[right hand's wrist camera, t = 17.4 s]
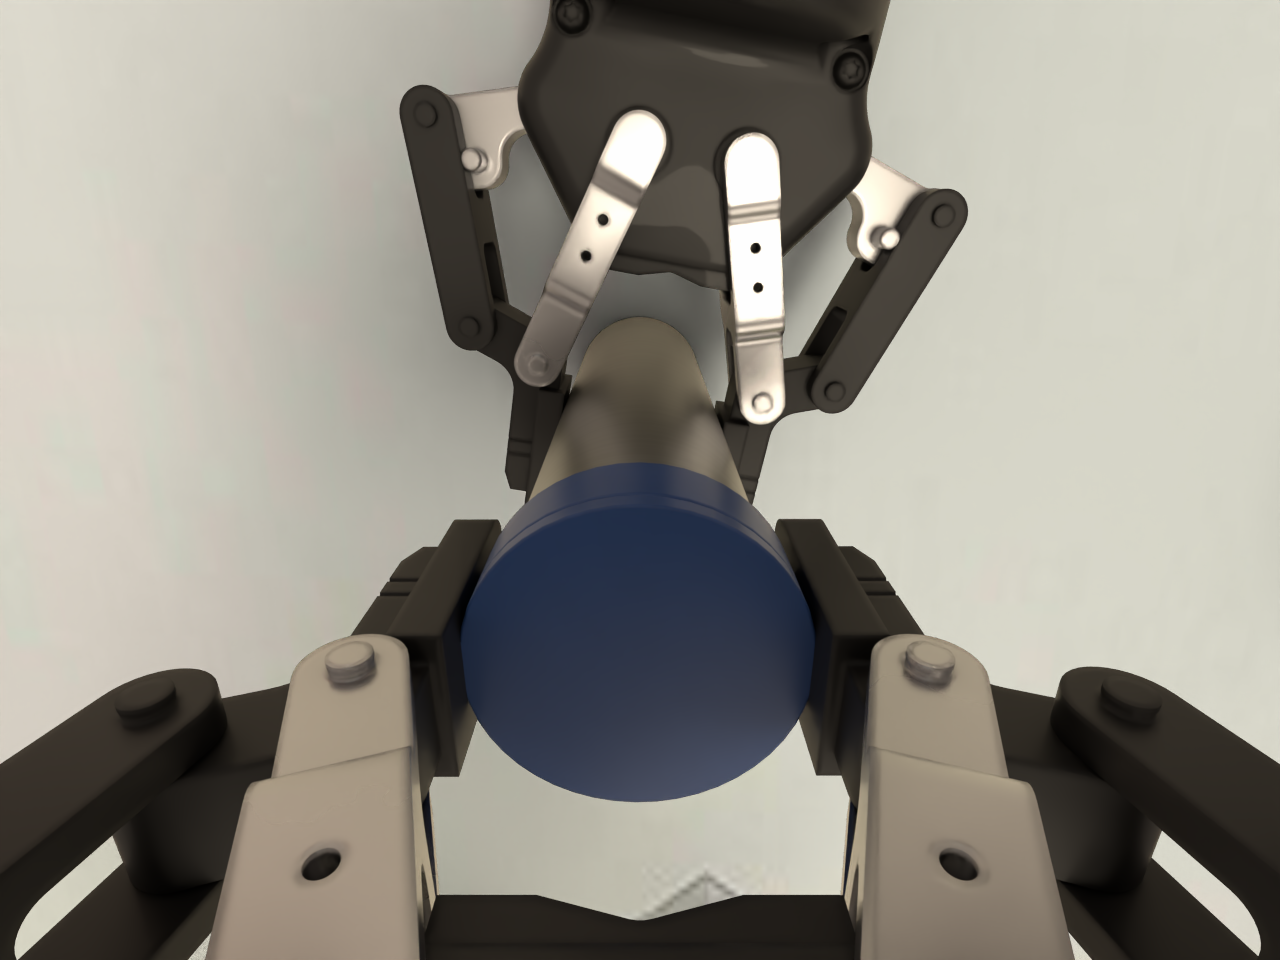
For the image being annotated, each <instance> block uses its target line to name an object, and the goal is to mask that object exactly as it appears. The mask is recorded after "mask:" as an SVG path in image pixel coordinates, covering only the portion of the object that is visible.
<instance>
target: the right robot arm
mask: <svg viewBox="0 0 1280 960" xmlns="http://www.w3.org/2000/svg"><path fill="white" fill-rule="evenodd" d="M501 532H502V530H501V525H500V522H499V521H498V520H454V521H453V523H452V524H451V526H450V528H449V529H448V531H447V533H446V534H445V536H444V538H443V539H442V541H441V543H440V544H439V546H438V547H422V548H421V549H419V550H418V551H416V552H415V553H413V554H412V555H410V556H409V557H407V558H406V559H404V560H403V561H401V563H400V564H399V566H398V567H397V568H396V570H395V571H394V573H393V574H392V576H391V577H390V582H387V583H386V585H385V586H384V588H383V589H382V590H381V592H380V596H377V598H376V599H375V601H374V602H373V604H372V605H371V607H370V608H369V610H368V611H367V612H366V614H365V615H364V617H363V618H362V620H361V621H360V623H359V624H358V626H357V627H356V629H355V630H354V632H353V633H352V634H351V636H350V637H345V638H342V639H338V640H335V641H333V642H330V643H328V644H325V645H323V646H321V647H320V648H318V649H316V650H314V651H313V652H311V653H310V654H308V655H307V656H306V657H305V658H304V659H302V660H301V662H300V663H299V664H298V665H297V666H296V668H295V669H294V671H293V674H292V677H291V681H290V683H289V684H286V685H283V686H280V687H275V688H271V689H267V690H262V691H257V692H252V693H247V694H242V695H237V696H232V697H227V698H221V694H220V691H219V687H218V684H217V681H216V679H215V678H214V677H213V676H212V675H211V674H209V673H208V672H206V671H202V670H198V669H172V670H166V671H161V672H157V673H153V674H149V675H146V676H143V677H140V678H137V679H134V680H132V681H130V682H127V683H125V684H123V685H121V686H119V687H117V688H115V689H113V690H111V691H110V692H108V693H106V694H105V695H103V696H102V697H100V698H99V699H97V700H96V701H94V702H93V703H91V704H90V705H88V706H87V707H85V708H84V709H82V710H81V711H79V712H78V713H76V714H75V715H73V716H72V717H70V718H69V719H67V720H66V721H64V722H63V723H61V724H60V725H58V726H57V727H55V728H54V729H52V730H51V731H49V732H48V733H46V734H45V735H43V736H42V737H40V738H39V739H37V740H36V741H34V742H33V743H31V744H30V745H28V746H27V747H25V748H24V749H22V750H21V751H19V752H18V753H16V754H15V755H13V756H12V757H10V758H9V759H7V760H6V761H4V762H3V763H1V764H0V960H16V957H15V951H14V946H15V940H16V937H17V933H18V931H19V929H20V926H21V924H22V922H23V921H24V919H25V917H26V916H27V914H28V913H29V911H30V910H31V909H32V907H33V906H34V905H35V904H36V903H37V902H38V900H39V899H40V898H42V897H43V896H44V895H45V894H46V893H47V892H48V891H49V890H50V889H51V888H53V887H54V886H55V885H56V884H57V883H58V882H59V881H61V880H62V879H63V878H64V877H65V876H66V875H67V874H69V873H70V872H71V871H72V870H73V869H74V868H75V867H77V866H78V865H79V864H80V863H81V862H82V861H84V860H85V859H86V858H87V857H88V856H89V855H90V854H92V853H93V852H94V851H95V850H96V849H97V848H98V847H100V846H101V845H102V844H103V843H104V842H105V841H106V840H108V839H109V838H110V837H111V836H113V838H114V841H115V843H116V846H117V848H118V851H119V853H120V856H121V858H122V861H123V863H122V864H121V865H120V866H119V867H118V868H117V869H116V870H115V871H113V872H112V873H111V874H110V875H109V876H108V877H107V878H106V879H105V880H104V881H103V882H102V883H101V884H99V885H98V886H97V887H96V888H95V889H94V890H93V891H92V892H91V893H90V894H89V895H88V896H86V897H85V898H84V899H83V900H82V901H81V902H80V903H79V904H78V905H77V906H76V907H75V908H73V909H72V910H71V911H70V912H69V913H68V914H67V915H66V916H65V917H64V918H63V919H62V920H61V921H59V922H58V923H57V924H56V925H55V926H54V927H53V928H52V929H51V930H50V931H49V932H48V933H46V934H45V935H44V936H43V937H42V938H41V939H40V940H39V941H38V942H37V943H36V944H35V945H34V946H32V947H31V948H30V949H29V950H28V951H27V952H26V953H25V954H24V955H23V956H22V957H21V958H19V959H18V960H188V959H189V958H190V956H191V955H192V954H193V953H194V952H195V951H196V949H197V948H198V947H199V946H200V945H201V944H202V942H203V941H204V940H205V939H206V938H207V937H208V935H209V934H210V933H211V932H212V933H211V937H210V941H209V945H208V950H207V954H206V958H205V960H1075V958H1074V954H1073V950H1072V946H1071V941H1070V937H1069V933H1070V934H1071V935H1072V937H1073V938H1074V939H1075V940H1076V941H1077V942H1078V944H1079V945H1080V946H1081V947H1082V948H1083V949H1084V951H1085V952H1086V953H1087V954H1088V955H1089V956H1090V958H1091V959H1092V960H1280V764H1279V763H1277V762H1276V761H1274V760H1273V759H1271V758H1270V757H1268V756H1267V755H1265V754H1264V753H1262V752H1261V751H1259V750H1258V749H1256V748H1255V747H1253V746H1252V745H1250V744H1249V743H1247V742H1246V741H1244V740H1243V739H1241V738H1240V737H1238V736H1237V735H1235V734H1234V733H1232V732H1231V731H1229V730H1228V729H1226V728H1225V727H1223V726H1222V725H1220V724H1219V723H1217V722H1216V721H1214V720H1213V719H1211V718H1210V717H1208V716H1207V715H1205V714H1204V713H1202V712H1201V711H1199V710H1198V709H1196V708H1195V707H1193V706H1192V705H1190V704H1189V703H1187V702H1186V701H1184V700H1183V699H1181V698H1180V697H1178V696H1177V695H1175V694H1174V693H1172V692H1171V691H1169V690H1167V689H1166V688H1164V687H1162V686H1160V685H1158V684H1156V683H1154V682H1152V681H1150V680H1147V679H1145V678H1143V677H1140V676H1137V675H1134V674H1131V673H1128V672H1124V671H1120V670H1116V669H1110V668H1104V667H1081V668H1076V669H1072V670H1070V671H1068V672H1066V673H1065V674H1064V675H1063V676H1062V678H1061V680H1060V683H1059V687H1058V690H1057V694H1056V698H1053V697H1048V696H1043V695H1038V694H1033V693H1028V692H1023V691H1018V690H1013V689H1008V688H1003V687H999V686H995V685H992V684H990V681H989V677H988V674H987V671H986V669H985V668H984V666H983V665H982V664H981V663H980V662H979V660H978V659H976V658H975V657H974V656H973V655H972V654H970V653H969V652H967V651H966V650H964V649H962V648H960V647H959V646H957V645H955V644H952V643H950V642H947V641H945V640H942V639H938V638H935V637H930V636H926V635H924V633H923V632H922V631H921V629H920V628H919V626H918V625H917V623H916V622H915V620H914V619H913V617H912V616H911V614H910V613H909V611H908V610H907V608H906V607H905V605H904V604H903V602H902V601H901V599H900V598H899V596H896V594H895V590H894V589H893V587H892V586H891V584H890V583H889V581H886V577H885V575H884V574H883V572H882V571H881V569H880V568H879V566H878V565H877V564H876V562H875V561H874V560H873V559H871V558H870V557H868V556H867V555H865V554H864V553H862V552H861V551H859V550H858V549H856V548H855V547H853V546H838V545H837V544H836V542H835V540H834V539H833V537H832V535H831V534H830V532H829V530H828V529H827V527H826V525H825V523H824V522H823V520H821V519H779V520H778V521H777V523H776V527H775V533H776V535H777V537H778V538H779V540H780V542H781V544H782V546H783V548H784V551H785V553H786V555H787V557H788V560H789V562H790V565H791V567H792V569H793V572H794V574H795V576H796V579H797V581H798V583H799V586H800V588H801V591H802V593H803V595H804V598H805V600H806V602H807V605H808V607H809V610H810V613H811V616H812V620H813V624H814V628H815V649H814V658H813V667H812V676H811V684H810V692H809V698H808V701H807V703H806V706H805V708H804V710H803V712H802V714H801V715H800V717H799V721H800V725H801V728H802V731H803V734H804V737H805V741H806V744H807V747H808V750H809V753H810V757H811V760H812V763H813V766H814V769H815V773H816V775H842V778H843V781H844V784H845V786H846V789H847V792H848V795H849V797H850V798H849V805H848V811H847V822H846V834H845V846H844V859H843V871H842V883H841V895H742V896H738V897H734V898H730V899H726V900H723V901H719V902H715V903H711V904H707V905H704V906H700V907H696V908H692V909H688V910H684V911H681V912H677V913H673V914H669V915H665V916H662V917H658V918H654V919H649V920H631V919H626V918H622V917H618V916H615V915H611V914H607V913H603V912H599V911H596V910H592V909H588V908H584V907H580V906H576V905H573V904H569V903H565V902H561V901H557V900H554V899H550V898H546V897H542V896H538V895H439V883H438V871H437V859H436V847H435V834H434V822H433V812H432V805H431V798H430V792H429V787H430V785H431V782H432V779H433V777H459V775H460V772H461V769H462V766H463V762H464V759H465V756H466V753H467V750H468V747H469V744H470V741H471V737H472V734H473V731H474V728H475V725H476V722H477V717H476V715H475V713H474V712H473V710H472V708H471V706H470V704H469V701H468V698H467V692H466V684H465V676H464V667H463V659H462V650H461V640H460V632H461V625H462V622H463V618H464V615H465V612H466V609H467V606H468V603H469V601H470V599H471V596H472V594H473V592H474V590H475V587H476V585H477V583H478V580H479V578H480V576H481V574H482V571H483V569H484V567H485V564H486V562H487V560H488V558H489V555H490V553H491V551H492V549H493V547H494V545H495V543H496V541H497V539H498V537H499V535H500V534H501ZM1161 831H1163V832H1164V833H1166V834H1167V835H1168V836H1169V837H1170V838H1171V839H1172V840H1174V841H1175V842H1176V843H1177V844H1178V845H1179V846H1180V847H1182V848H1183V849H1184V850H1185V851H1186V852H1187V853H1188V854H1190V855H1191V856H1192V857H1193V858H1194V859H1195V860H1196V861H1198V862H1199V863H1200V864H1201V865H1202V866H1203V867H1204V868H1206V869H1207V870H1208V871H1209V872H1210V873H1211V874H1212V875H1214V876H1215V877H1216V878H1217V879H1218V880H1219V881H1221V882H1222V883H1223V884H1224V885H1225V886H1226V887H1227V888H1229V889H1230V890H1231V891H1232V892H1233V893H1234V894H1235V895H1236V896H1237V897H1238V898H1239V899H1240V901H1241V902H1242V903H1243V904H1244V905H1245V907H1246V908H1247V910H1248V911H1249V912H1250V914H1251V916H1252V918H1253V919H1254V921H1255V924H1256V926H1257V928H1258V931H1259V935H1260V940H1261V950H1260V953H1259V956H1257V955H1256V954H1255V953H1254V952H1253V951H1252V950H1251V949H1250V948H1249V947H1248V946H1246V945H1245V944H1244V943H1243V942H1242V941H1241V940H1240V939H1239V938H1238V937H1237V936H1236V935H1235V934H1234V933H1232V932H1231V931H1230V930H1229V929H1228V928H1227V927H1226V926H1225V925H1224V924H1223V923H1222V922H1221V921H1219V920H1218V919H1217V918H1216V917H1215V916H1214V915H1213V914H1212V913H1211V912H1210V911H1209V910H1208V909H1206V908H1205V907H1204V906H1203V905H1202V904H1201V903H1200V902H1199V901H1198V900H1197V899H1196V898H1195V897H1194V896H1192V895H1191V894H1190V893H1189V892H1188V891H1187V890H1186V889H1185V888H1184V887H1183V886H1182V885H1181V884H1179V883H1178V882H1177V881H1176V880H1175V879H1174V878H1173V877H1172V876H1171V875H1170V874H1169V873H1168V872H1166V871H1165V870H1164V869H1163V868H1162V867H1161V866H1160V865H1159V864H1158V863H1157V862H1156V861H1155V860H1154V859H1152V858H1151V857H1152V855H1153V852H1154V849H1155V847H1156V844H1157V842H1158V839H1159V836H1160V834H1161ZM1068 932H1069V933H1068Z"/></svg>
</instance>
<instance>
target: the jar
mask: <svg viewBox="0 0 1280 960" xmlns="http://www.w3.org/2000/svg"><path fill="white" fill-rule="evenodd" d="M636 462H643V463H657V464H665V465H670V466H675V467H680V468H685V469H688V470H691V471H694V472H697V473H700V474H703V475H705V476H708V477H710V478H712V479H714V480H716V481H718V482H720V483H722V484H724V485H726V486H727V487H729V488H730V489H732V490H733V491H735V492H736V493H738V494H739V495H741V496H742V497H743V498H744V499H745V500H747V501H748V499H747V496H746V493H745V490H744V488H743V485H742V482H741V480H740V477H739V474H738V472H737V469H736V466H735V463H734V461H733V458H732V455H731V453H730V450H729V447H728V445H727V442H726V439H725V436H724V434H723V431H722V428H721V426H720V423H719V420H718V418H717V415H716V412H715V409H714V407H713V404H712V401H711V399H710V396H709V393H708V391H707V388H706V385H705V382H704V380H703V377H702V374H701V372H700V369H699V366H698V364H697V361H696V358H695V355H694V353H693V351H692V349H691V347H690V345H689V343H688V342H687V341H686V339H685V338H684V337H683V336H682V335H681V334H680V333H679V332H678V331H677V330H676V329H675V328H673V327H671V326H670V325H668V324H666V323H664V322H662V321H659V320H656V319H653V318H647V317H633V318H627V319H623V320H620V321H617V322H615V323H613V324H611V325H609V326H608V327H606V328H605V329H603V330H602V331H601V332H600V333H599V334H598V335H597V336H596V337H595V338H594V340H593V341H592V342H591V344H590V345H589V347H588V349H587V351H586V354H585V356H584V359H583V361H582V364H581V366H580V369H579V372H578V374H577V377H576V379H575V382H574V385H573V387H572V390H571V392H570V395H569V398H568V400H567V403H566V405H565V408H564V411H563V413H562V416H561V418H560V421H559V424H558V426H557V429H556V431H555V434H554V437H553V439H552V442H551V444H550V447H549V450H548V452H547V455H546V457H545V460H544V463H543V465H542V468H541V470H540V473H539V475H538V478H537V481H536V483H535V486H534V488H533V491H532V494H531V496H530V499H529V501H530V500H531V499H532V498H533V497H534V496H536V495H537V494H538V493H540V492H541V491H543V490H544V489H546V488H548V487H549V486H551V485H552V484H554V483H556V482H558V481H560V480H562V479H564V478H567V477H569V476H571V475H573V474H576V473H579V472H582V471H585V470H589V469H592V468H595V467H600V466H606V465H612V464H617V463H636ZM748 502H749V501H748Z"/></svg>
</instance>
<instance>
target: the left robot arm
mask: <svg viewBox="0 0 1280 960" xmlns="http://www.w3.org/2000/svg"><path fill="white" fill-rule="evenodd" d="M889 4H890V0H550V9H549V15H548V21H547V25H546V29H545V32H544V34H543V37H542V40H541V42H540V44H539V46H538V48H537V50H536V52H535V54H534V55H533V57H532V58H531V60H530V61H529V63H528V64H527V65H526V67H525V69H524V71H523V73H522V76H521V78H520V82H519V86H516V87H509V88H501V89H494V90H486V91H479V92H471V93H464V94H456V95H447V94H445V93H443V92H441V91H440V90H438V89H436V88H434V87H432V86H429V85H418V86H415V87H413V88H411V89H409V90H408V91H407V92H406V93H405V95H404V96H403V98H402V101H401V104H400V119H401V124H402V128H403V133H404V138H405V142H406V147H407V151H408V156H409V160H410V165H411V170H412V174H413V179H414V183H415V188H416V192H417V197H418V201H419V206H420V211H421V215H422V220H423V224H424V229H425V233H426V238H427V243H428V247H429V252H430V256H431V261H432V265H433V270H434V274H435V279H436V284H437V288H438V293H439V297H440V302H441V306H442V311H443V316H444V320H445V325H446V329H447V333H448V335H449V337H450V339H451V340H452V341H453V342H454V343H455V344H456V345H457V346H459V347H460V348H462V349H465V350H477V351H479V352H481V353H483V354H484V355H486V356H488V357H490V358H492V359H494V360H495V361H497V362H499V363H500V364H502V365H503V366H504V367H505V368H506V369H507V371H508V372H509V374H510V376H511V378H512V381H513V386H514V393H513V402H512V411H511V420H510V429H509V440H508V448H507V457H506V466H505V473H506V476H507V480H508V483H509V486H510V489H516V490H522V491H526V497H525V504H526V503H527V502H528V501H529V499H530V496H531V494H532V491H533V488H534V486H535V483H536V481H537V478H538V475H539V473H540V470H541V468H542V465H543V463H544V460H545V457H546V455H547V452H548V450H549V447H550V444H551V442H552V439H553V437H554V434H555V431H556V429H557V426H558V424H559V421H560V418H561V416H562V413H563V411H564V408H565V405H566V403H567V400H568V398H569V395H570V387H571V380H572V375H567V374H565V371H566V364H567V357H568V355H569V353H570V351H571V349H572V346H573V344H574V342H575V340H576V338H577V336H578V334H579V332H580V330H581V328H582V325H583V323H584V321H585V319H586V317H587V315H588V313H589V311H590V309H591V307H592V304H593V302H594V300H595V298H596V296H597V294H598V292H599V290H600V288H601V286H602V284H603V281H604V279H605V277H606V275H607V273H608V271H609V270H614V271H619V272H625V273H630V274H636V275H643V274H654V273H664V272H672V273H675V274H677V275H679V276H681V277H683V278H685V279H687V280H689V281H691V282H693V283H695V284H697V285H699V286H702V287H708V288H713V289H719V296H720V308H721V316H722V321H723V326H724V335H725V347H726V359H727V371H728V383H729V384H728V389H727V393H726V398H725V402H721V401H716V404H715V412H716V415H717V418H718V420H719V423H720V426H721V428H722V431H723V434H724V436H725V439H726V442H727V445H728V447H729V450H730V453H731V455H732V458H733V461H734V463H735V466H736V469H737V472H738V474H739V477H740V480H741V482H742V485H743V488H744V490H745V493H746V496H747V499H748V501H749V503H750V504H751V505H752V504H753V500H754V496H755V491H756V488H757V484H758V479H759V477H760V473H761V469H762V465H763V461H764V457H765V453H766V449H767V445H768V442H769V438H770V434H771V431H772V430H773V428H774V426H775V425H776V424H777V423H778V422H779V421H780V420H781V419H782V418H784V417H786V416H787V415H790V414H793V413H798V412H804V411H810V410H816V409H819V410H821V411H823V412H825V413H839V412H842V411H844V410H845V409H847V408H848V407H849V406H850V405H851V404H852V403H853V402H854V400H855V398H856V397H857V395H858V394H859V392H860V391H861V389H862V387H863V386H864V384H865V383H866V381H867V379H868V378H869V376H870V375H871V373H872V372H873V370H874V368H875V367H876V365H877V364H878V362H879V360H880V359H881V357H882V356H883V354H884V353H885V351H886V349H887V348H888V346H889V345H890V343H891V341H892V340H893V338H894V337H895V335H896V333H897V332H898V330H899V329H900V327H901V326H902V324H903V322H904V321H905V319H906V318H907V316H908V314H909V313H910V311H911V310H912V308H913V307H914V305H915V303H916V302H917V300H918V299H919V297H920V295H921V294H922V292H923V291H924V289H925V288H926V286H927V284H928V283H929V281H930V280H931V278H932V276H933V275H934V273H935V272H936V270H937V268H938V267H939V265H940V264H941V262H942V261H943V259H944V257H945V256H946V254H947V253H948V251H949V249H950V248H951V246H952V245H953V243H954V242H955V240H956V238H957V237H958V235H959V234H960V232H961V230H962V229H963V227H964V225H965V223H966V220H967V216H968V207H967V203H966V201H965V199H964V197H963V196H962V195H961V194H960V193H959V192H957V191H955V190H952V189H936V188H932V189H928V188H925V187H923V186H921V185H920V184H918V183H916V182H915V181H913V180H911V179H910V178H908V177H906V176H904V175H903V174H901V173H899V172H898V171H896V170H894V169H892V168H891V167H889V166H887V165H886V164H884V163H882V162H880V161H879V160H877V159H875V158H874V157H872V156H871V154H872V135H871V131H870V127H869V122H868V115H867V90H868V84H869V79H870V75H871V71H872V68H873V65H874V61H875V58H876V54H877V50H878V46H879V42H880V39H881V35H882V31H883V27H884V23H885V19H886V16H887V12H888V8H889ZM526 134H527V135H528V137H529V139H530V141H531V143H532V145H533V147H534V149H535V151H536V153H537V155H538V157H539V159H540V161H541V163H542V165H543V167H544V169H545V171H546V173H547V175H548V177H549V179H550V181H551V183H552V185H553V187H554V189H555V192H556V194H557V196H558V198H559V200H560V202H561V204H562V206H563V208H564V210H565V212H566V214H567V216H568V218H569V220H570V222H571V224H572V225H571V227H570V229H569V232H568V234H567V236H566V238H565V241H564V243H563V245H562V247H561V250H560V252H559V254H558V256H557V259H556V261H555V263H554V265H553V268H552V270H551V272H550V274H549V277H548V279H547V281H546V284H545V287H544V290H543V293H542V296H541V298H540V301H539V303H538V305H537V307H536V310H535V312H534V314H533V316H532V317H530V316H529V315H527V314H525V313H523V312H522V311H520V310H518V309H516V308H515V307H513V306H511V305H509V300H508V295H507V289H506V284H505V278H504V273H503V267H502V262H501V256H500V251H499V245H498V240H497V235H496V229H495V224H494V218H493V213H492V207H491V202H490V196H489V191H488V190H490V189H494V188H497V187H498V186H500V185H501V184H502V183H503V182H504V181H505V179H506V177H507V175H508V172H509V153H510V150H511V148H512V145H513V144H514V142H515V141H516V140H517V139H518V138H520V137H521V136H523V135H526ZM844 198H847V199H848V201H849V202H850V205H851V208H852V221H851V225H850V227H849V229H848V232H847V246H848V249H849V251H850V252H851V254H852V255H853V256H855V257H856V259H855V260H854V262H853V264H852V266H851V267H850V269H849V271H848V272H847V274H846V276H845V277H844V279H843V281H842V283H841V284H840V286H839V288H838V289H837V291H836V293H835V295H834V296H833V298H832V300H831V301H830V303H829V305H828V307H827V308H826V310H825V312H824V313H823V315H822V317H821V319H820V320H819V322H818V324H817V325H816V327H815V329H814V330H813V332H812V334H811V336H810V337H809V339H808V341H807V342H806V344H805V346H804V348H803V349H802V351H801V353H800V354H799V356H797V357H791V358H785V359H783V346H782V336H783V333H784V329H785V311H784V291H783V271H782V257H783V256H784V255H785V254H786V253H787V252H789V251H790V250H791V249H792V248H793V247H794V246H795V245H796V244H797V243H798V242H799V241H800V240H801V239H802V238H803V237H804V236H805V235H806V234H808V233H809V232H810V231H811V230H812V229H813V228H814V227H815V226H816V225H817V224H818V223H819V222H820V221H821V220H822V219H823V218H824V217H825V216H827V215H828V214H829V213H830V212H831V211H832V210H833V209H834V208H835V207H836V206H837V205H838V204H839V203H840V202H841V201H842V200H843V199H844Z"/></svg>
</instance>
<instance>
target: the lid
mask: <svg viewBox="0 0 1280 960" xmlns="http://www.w3.org/2000/svg"><path fill="white" fill-rule="evenodd" d="M460 640H461V650H462V659H463V667H464V676H465V684H466V692H467V698H468V701H469V704H470V706H471V708H472V710H473V712H474V713H475V715H476V717H477V719H478V721H479V722H480V724H481V725H482V727H483V728H484V730H485V731H486V732H487V734H488V735H489V737H490V738H491V739H492V740H493V741H494V742H495V743H496V744H497V745H498V746H499V747H500V748H501V750H502V751H503V752H505V753H506V754H507V755H508V756H509V757H511V758H512V759H513V760H514V761H515V762H516V763H518V764H519V765H521V766H522V767H524V768H525V769H527V770H528V771H530V772H531V773H533V774H534V775H536V776H538V777H540V778H542V779H544V780H546V781H548V782H550V783H552V784H553V785H556V786H559V787H561V788H564V789H567V790H569V791H572V792H575V793H579V794H582V795H586V796H590V797H594V798H600V799H606V800H612V801H625V802H653V801H663V800H671V799H678V798H682V797H686V796H690V795H694V794H699V793H701V792H704V791H707V790H710V789H713V788H716V787H718V786H720V785H722V784H725V783H727V782H729V781H731V780H733V779H735V778H737V777H739V776H740V775H742V774H743V773H745V772H747V771H748V770H750V769H751V768H753V767H755V766H756V765H757V764H758V763H760V762H761V761H762V760H763V759H765V758H766V757H767V756H768V755H770V754H771V753H772V752H773V751H774V750H775V748H776V747H777V746H778V745H779V744H780V743H781V742H782V741H783V740H784V739H785V738H786V736H787V735H788V734H789V732H790V731H791V730H792V728H793V727H794V726H795V724H796V723H797V721H798V719H799V717H800V715H801V714H802V712H803V710H804V708H805V706H806V703H807V701H808V698H809V692H810V684H811V676H812V667H813V658H814V649H815V628H814V624H813V620H812V616H811V613H810V610H809V607H808V605H807V602H806V600H805V598H804V595H803V593H802V591H801V588H800V586H799V583H798V581H797V579H796V576H795V574H794V572H793V569H792V567H791V565H790V562H789V560H788V557H787V555H786V553H785V551H784V548H783V546H782V544H781V542H780V540H779V538H778V537H777V535H776V533H775V532H774V530H773V529H772V527H771V526H770V524H769V523H768V522H767V521H766V519H765V518H764V517H763V516H762V515H761V514H760V513H759V511H758V510H757V509H756V508H755V507H754V506H752V505H751V504H750V503H749V502H748V501H747V500H745V499H744V498H743V497H742V496H741V495H739V494H738V493H736V492H735V491H733V490H732V489H730V488H729V487H727V486H726V485H724V484H722V483H720V482H718V481H716V480H714V479H712V478H710V477H708V476H705V475H703V474H700V473H697V472H694V471H691V470H688V469H685V468H680V467H675V466H670V465H665V464H657V463H643V462H636V463H617V464H612V465H606V466H600V467H595V468H592V469H589V470H585V471H582V472H579V473H576V474H573V475H571V476H569V477H567V478H564V479H562V480H560V481H558V482H556V483H554V484H552V485H551V486H549V487H548V488H546V489H544V490H543V491H541V492H540V493H538V494H537V495H536V496H534V497H533V498H532V499H531V500H530V501H528V502H527V503H526V504H525V505H523V506H522V507H521V509H520V510H519V511H518V512H517V513H516V514H515V515H514V516H513V517H512V518H511V519H510V521H509V522H508V523H507V525H506V526H505V528H504V529H503V531H502V532H501V534H500V535H499V537H498V539H497V541H496V543H495V545H494V547H493V549H492V551H491V553H490V555H489V558H488V560H487V562H486V564H485V567H484V569H483V571H482V574H481V576H480V578H479V580H478V583H477V585H476V587H475V590H474V592H473V594H472V596H471V599H470V601H469V603H468V606H467V609H466V612H465V615H464V618H463V622H462V625H461V632H460Z"/></svg>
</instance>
